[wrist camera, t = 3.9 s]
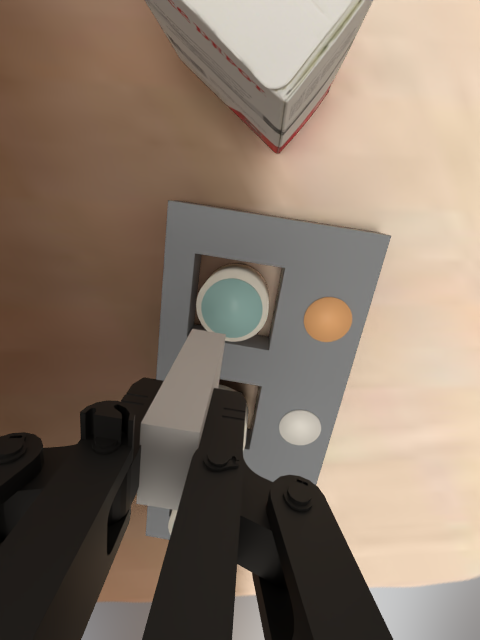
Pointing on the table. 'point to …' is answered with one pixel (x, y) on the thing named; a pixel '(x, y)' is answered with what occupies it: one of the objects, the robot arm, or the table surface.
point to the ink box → (264, 54)
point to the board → (275, 326)
